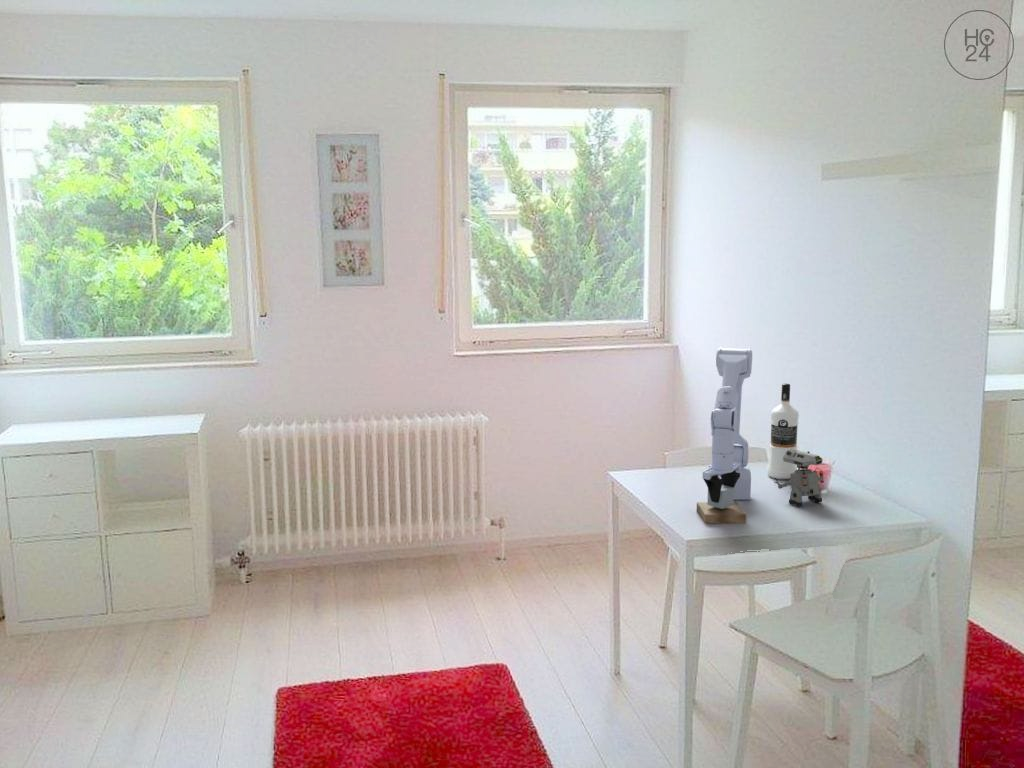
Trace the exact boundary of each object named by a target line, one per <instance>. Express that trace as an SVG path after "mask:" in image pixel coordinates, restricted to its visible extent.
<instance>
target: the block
mask: <svg viewBox="0 0 1024 768" xmlns="http://www.w3.org/2000/svg"><path fill="white" fill-rule="evenodd" d="M707 502H708V504H707V505H710V506H714V507H717V508H721V509H724V508H727V507H730V506H733V505H734V502H735V501H734V487H730V486H726V485H722V487H721V491H720V499H719V502H718V503H715V502H712V501H711V498H710V493H709V490H708V489H707Z"/></svg>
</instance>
